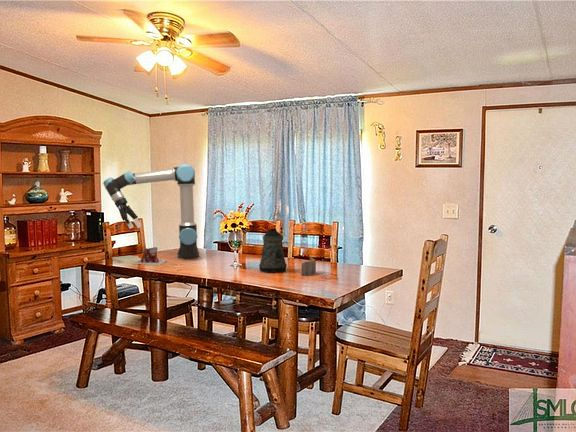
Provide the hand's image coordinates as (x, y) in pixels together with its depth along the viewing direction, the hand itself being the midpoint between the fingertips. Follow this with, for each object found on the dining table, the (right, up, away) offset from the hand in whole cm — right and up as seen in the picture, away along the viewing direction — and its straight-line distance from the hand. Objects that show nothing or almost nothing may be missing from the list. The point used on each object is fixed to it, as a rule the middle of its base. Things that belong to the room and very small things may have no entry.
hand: (136, 227), depth 330 cm
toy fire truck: (+9, -24, -2) cm, 25 cm away
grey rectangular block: (+111, -27, -36) cm, 120 cm away
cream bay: (-10, -22, +11) cm, 27 cm away
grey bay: (+9, -23, -2) cm, 25 cm away
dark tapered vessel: (+89, -25, -25) cm, 96 cm away
